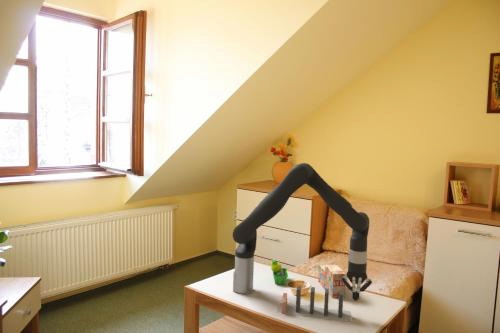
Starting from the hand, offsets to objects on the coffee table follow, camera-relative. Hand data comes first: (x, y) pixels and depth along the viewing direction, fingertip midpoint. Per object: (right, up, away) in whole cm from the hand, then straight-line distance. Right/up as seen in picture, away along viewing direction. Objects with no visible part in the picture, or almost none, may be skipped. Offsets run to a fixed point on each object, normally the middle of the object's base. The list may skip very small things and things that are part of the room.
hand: (355, 300), depth 166 cm
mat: (-17, -7, +4) cm, 19 cm away
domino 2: (-24, -6, +6) cm, 25 cm away
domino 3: (-18, -7, +4) cm, 19 cm away
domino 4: (-12, -7, +3) cm, 14 cm away
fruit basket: (-30, -4, +40) cm, 50 cm away
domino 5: (-6, -7, +2) cm, 10 cm away
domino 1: (-30, -4, +1) cm, 31 cm away
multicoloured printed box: (-4, -5, +31) cm, 31 cm away
